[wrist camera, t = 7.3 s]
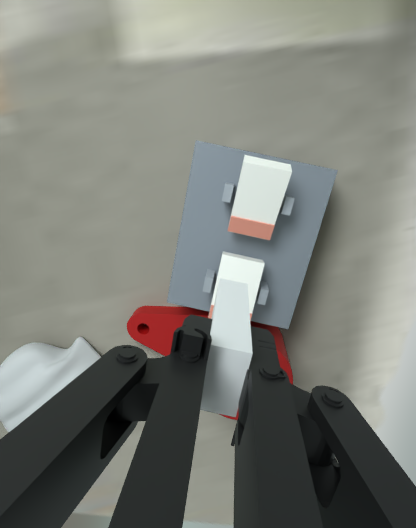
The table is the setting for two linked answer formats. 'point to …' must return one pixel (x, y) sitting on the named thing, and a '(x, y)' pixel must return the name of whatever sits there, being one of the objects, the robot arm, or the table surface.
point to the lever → (171, 318)
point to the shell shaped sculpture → (39, 377)
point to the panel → (220, 239)
